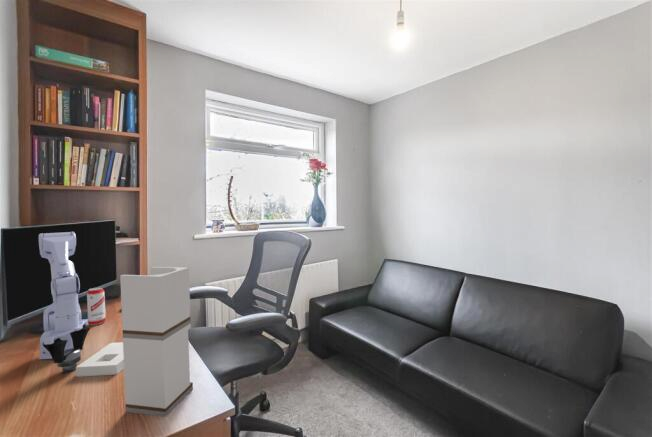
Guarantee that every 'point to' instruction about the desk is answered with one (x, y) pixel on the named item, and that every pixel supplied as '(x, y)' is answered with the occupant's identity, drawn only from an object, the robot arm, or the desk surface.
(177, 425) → the desk surface
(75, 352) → the cylinder
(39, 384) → the desk surface
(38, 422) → the desk surface
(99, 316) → the beer can
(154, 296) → the tall white square container
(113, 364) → the plate
